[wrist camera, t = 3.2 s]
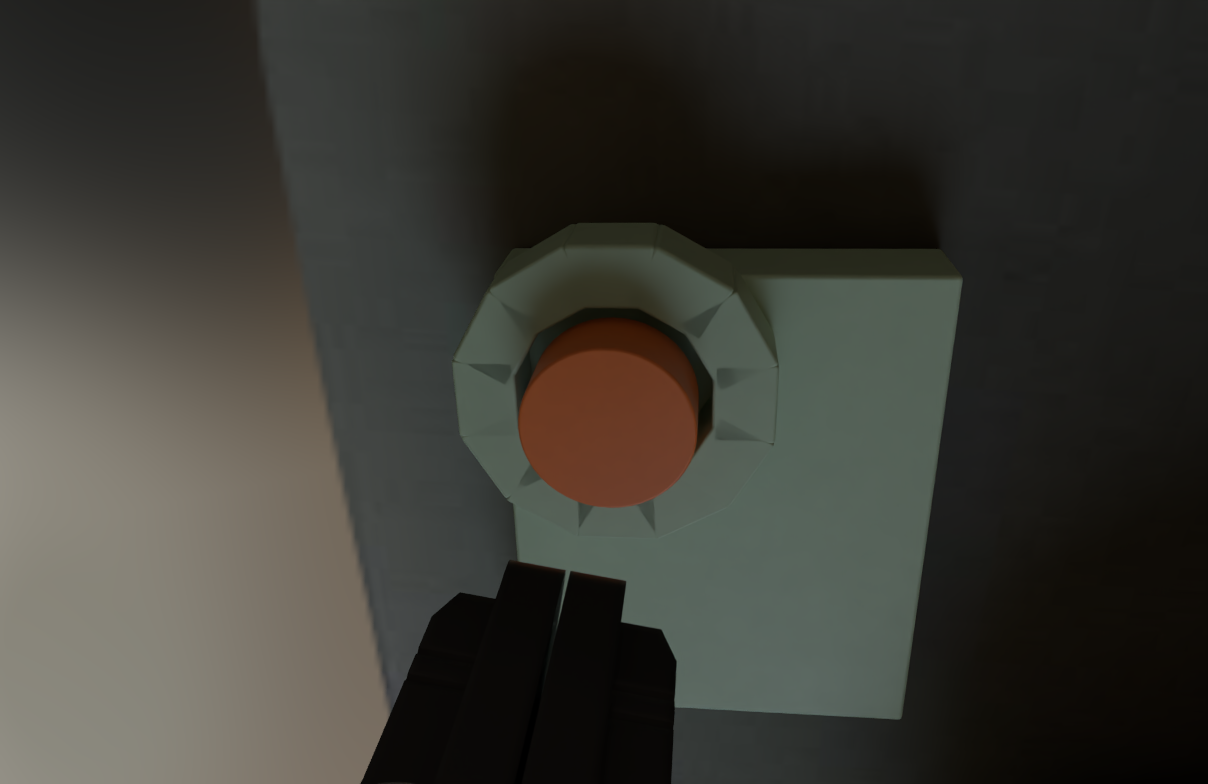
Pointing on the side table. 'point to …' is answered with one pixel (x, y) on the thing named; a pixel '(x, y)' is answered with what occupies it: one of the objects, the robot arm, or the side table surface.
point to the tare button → (610, 413)
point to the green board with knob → (744, 453)
